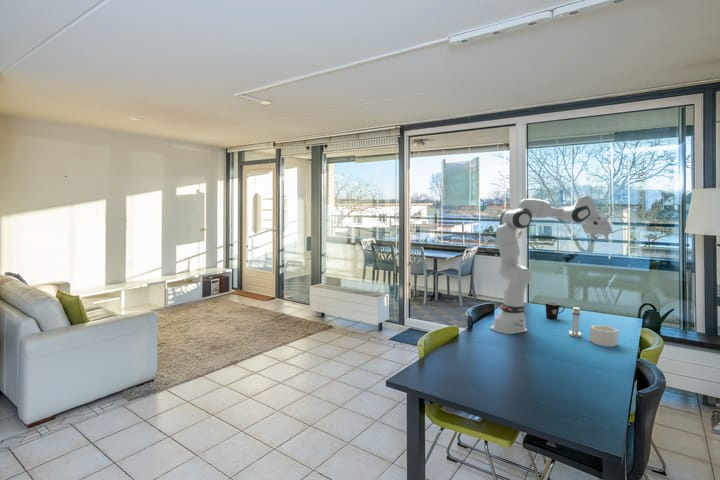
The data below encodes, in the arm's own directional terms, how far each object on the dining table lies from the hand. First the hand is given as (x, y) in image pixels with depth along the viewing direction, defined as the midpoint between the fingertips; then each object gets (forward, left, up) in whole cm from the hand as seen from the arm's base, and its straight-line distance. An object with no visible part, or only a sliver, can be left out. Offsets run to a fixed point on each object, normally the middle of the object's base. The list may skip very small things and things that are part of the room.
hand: (601, 239), depth 243 cm
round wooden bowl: (-32, -17, -54) cm, 65 cm away
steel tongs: (-32, -2, -54) cm, 63 cm away
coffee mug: (-7, +23, -54) cm, 59 cm away
